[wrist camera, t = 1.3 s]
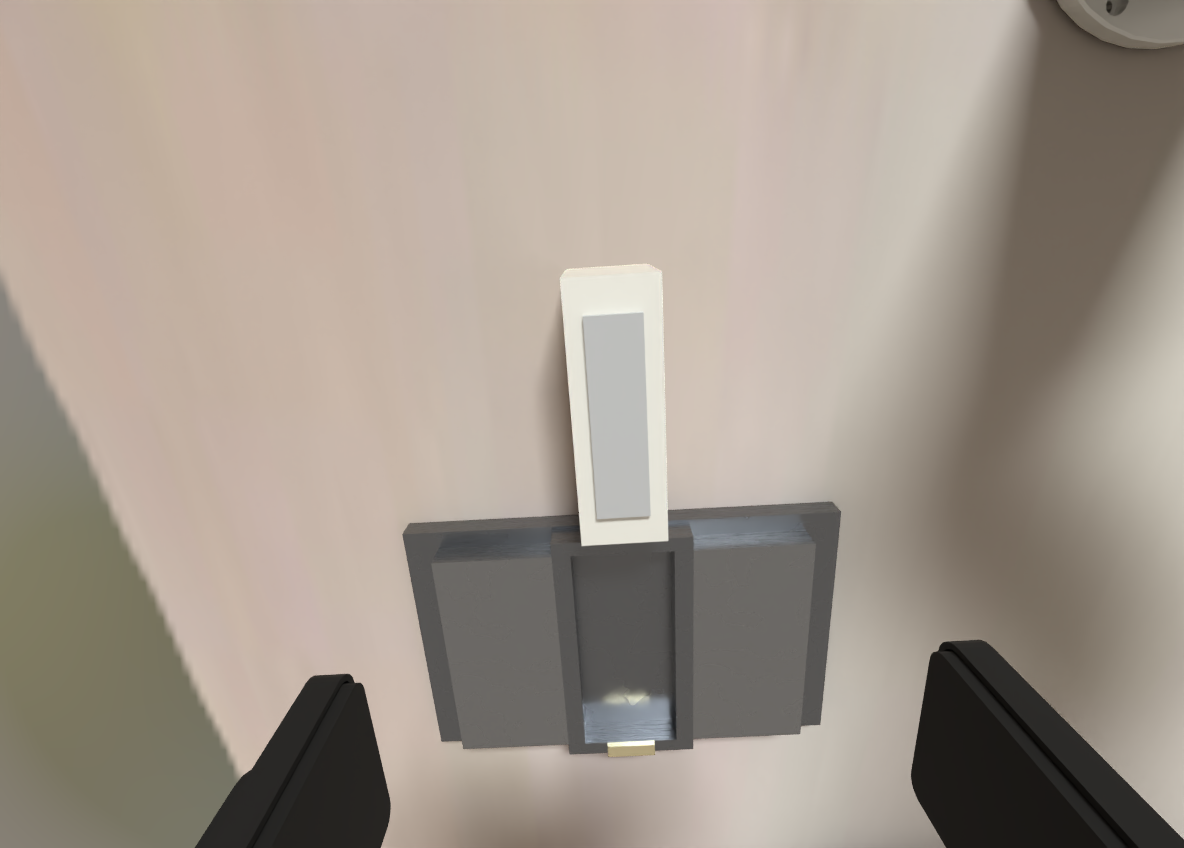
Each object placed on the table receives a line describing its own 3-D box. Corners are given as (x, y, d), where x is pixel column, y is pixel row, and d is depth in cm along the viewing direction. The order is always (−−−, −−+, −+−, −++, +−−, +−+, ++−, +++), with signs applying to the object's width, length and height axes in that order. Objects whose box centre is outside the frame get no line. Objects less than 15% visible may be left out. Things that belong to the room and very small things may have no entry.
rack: (832, 501, 31) (855, 528, 29) (813, 709, 36) (831, 749, 33) (409, 523, 32) (391, 552, 29) (446, 725, 37) (433, 767, 34)
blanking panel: (647, 263, 27) (662, 271, 21) (654, 485, 31) (669, 544, 25) (566, 268, 28) (559, 278, 22) (583, 489, 31) (581, 549, 25)
